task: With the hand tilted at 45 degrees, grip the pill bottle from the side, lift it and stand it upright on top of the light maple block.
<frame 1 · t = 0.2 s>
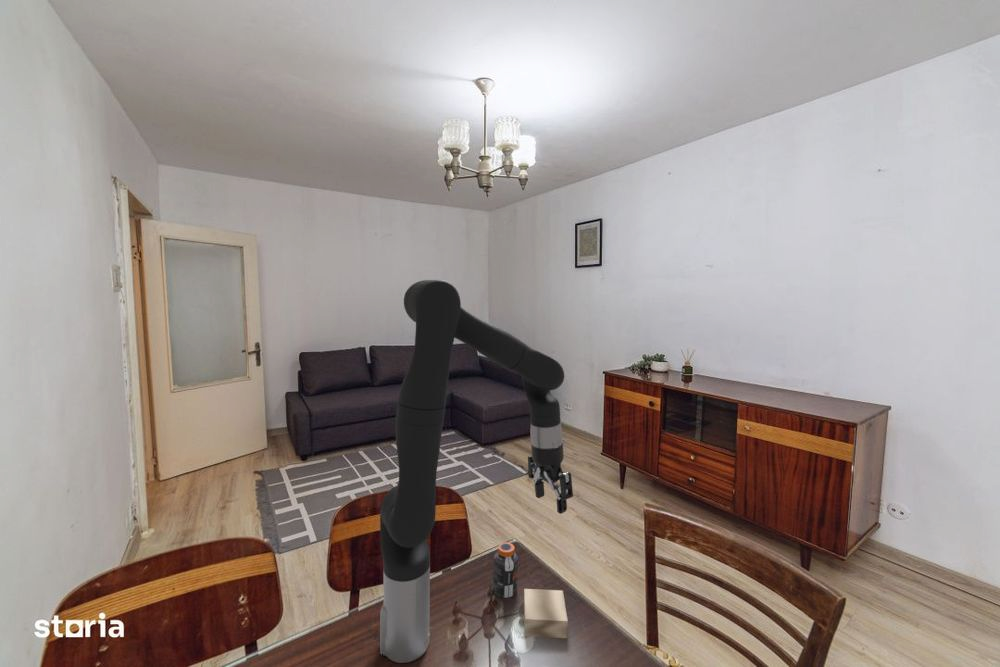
hand: (550, 504, 100), 22 cm above the table, tool pointing down, fingers open, 8 cm apart
maple block: (544, 620, 93), on the table
pill bottle: (504, 590, 102), on the table
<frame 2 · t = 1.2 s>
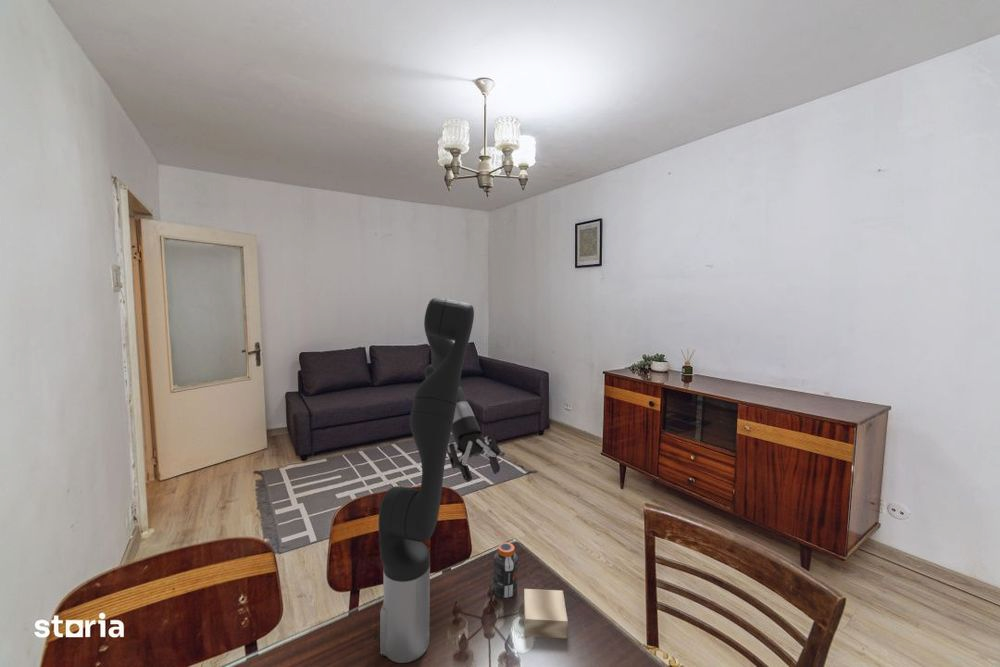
hand: (483, 476, 108), 25 cm above the table, tool tilted 45°, fingers open, 8 cm apart
nothing on the table moved.
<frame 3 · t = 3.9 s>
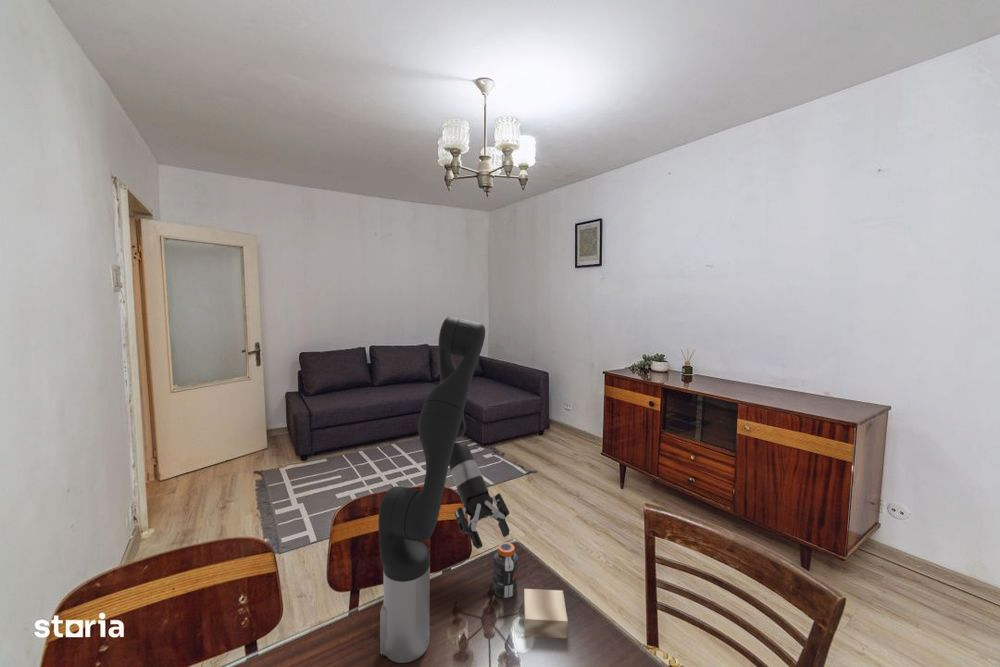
hand: (493, 541, 105), 10 cm above the table, tool tilted 45°, fingers open, 8 cm apart
nothing on the table moved.
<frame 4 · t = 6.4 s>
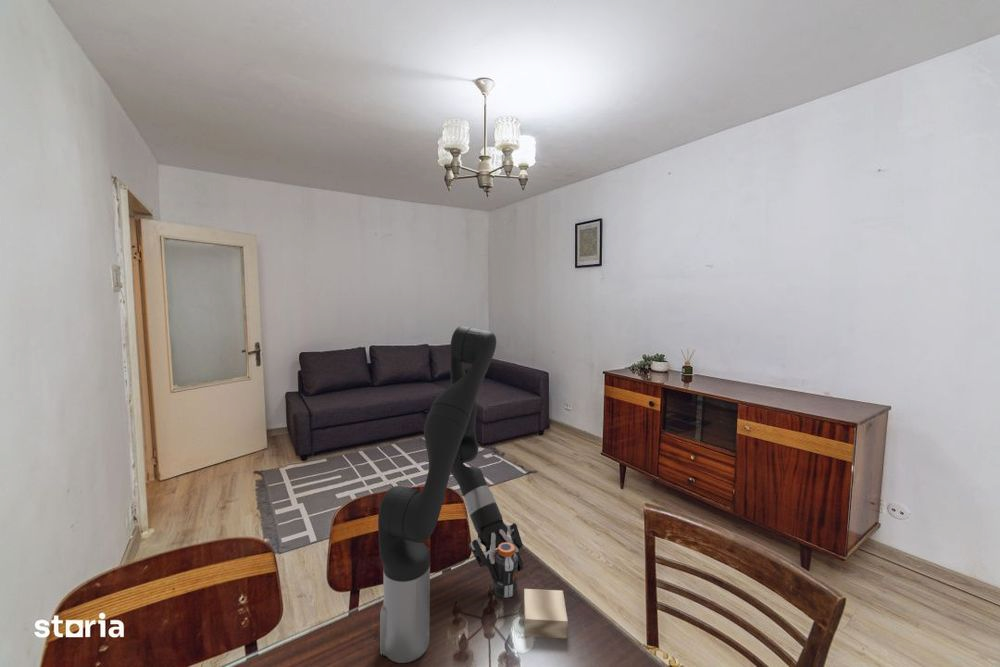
hand: (510, 575, 100), 5 cm above the table, tool tilted 45°, fingers closed on pill bottle, 6 cm apart
pill bottle: (504, 590, 102), on the table, touching gripper
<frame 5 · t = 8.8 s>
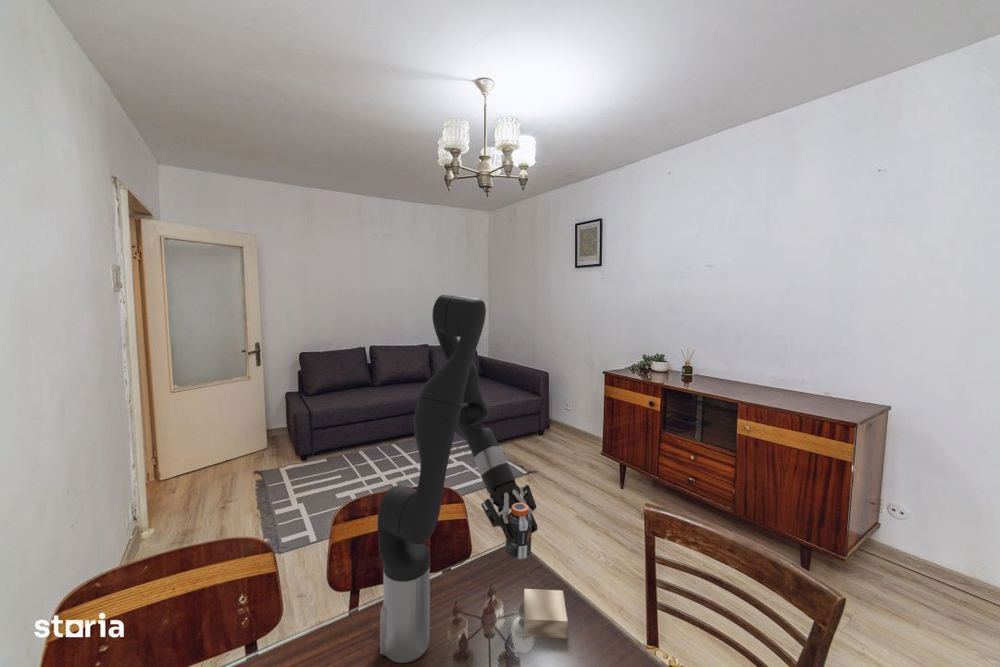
hand: (524, 536, 96), 17 cm above the table, tool tilted 45°, fingers closed on pill bottle, 6 cm apart
pill bottle: (518, 552, 98), point 12 cm above the table, touching gripper
when the fingers open (10 cm above the table, at t = 11.4 s): pill bottle drops 1 cm, resting on maple block.
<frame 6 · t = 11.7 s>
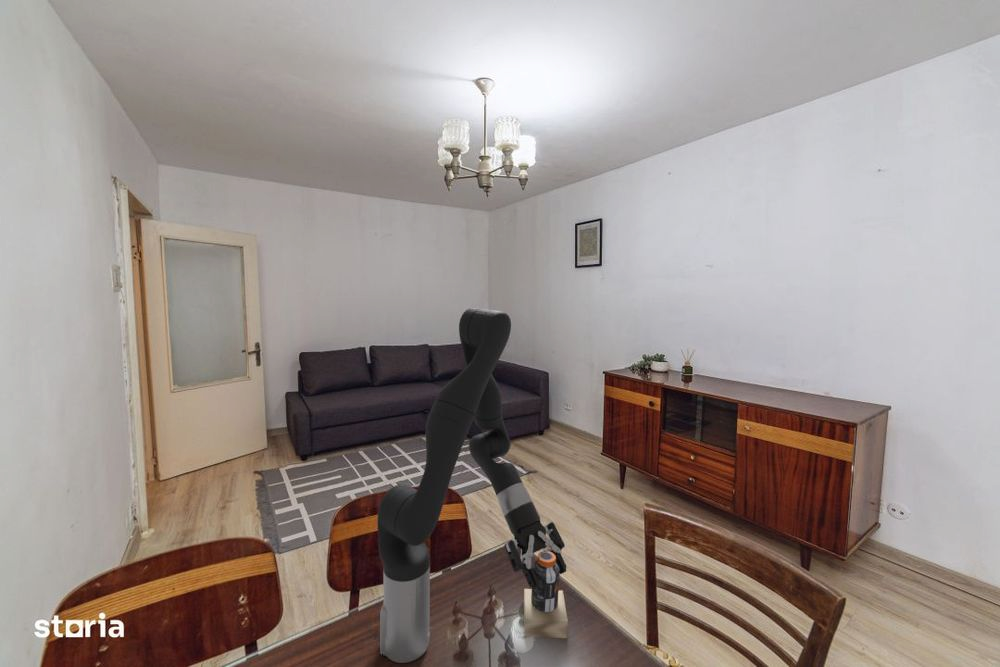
hand: (550, 580, 91), 11 cm above the table, tool tilted 45°, fingers open, 8 cm apart
pill bottle: (544, 604, 93), point 4 cm above the table, touching maple block
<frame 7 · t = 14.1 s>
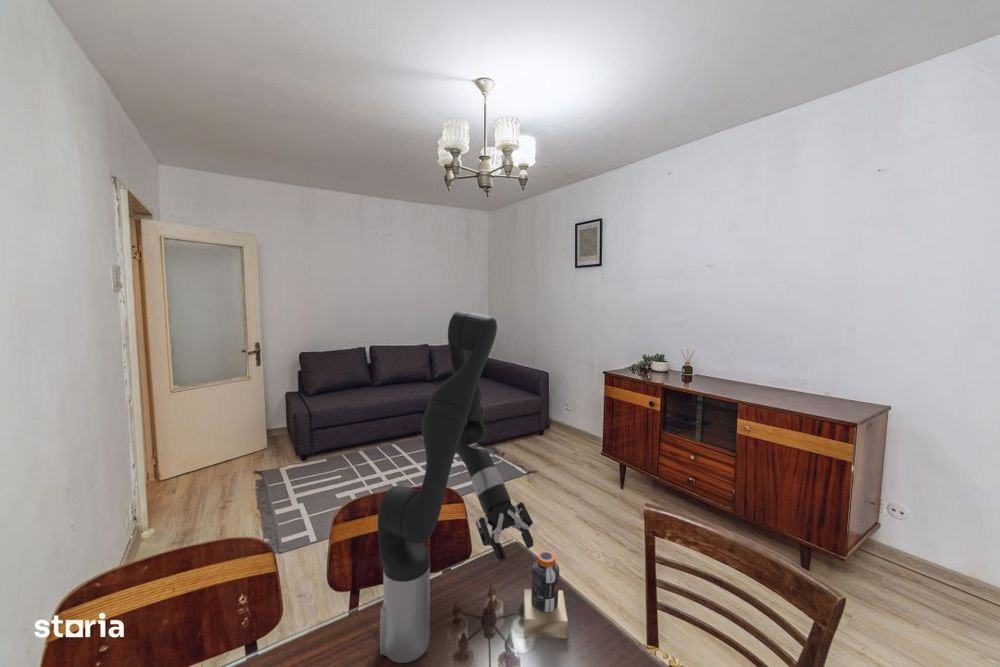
hand: (517, 553, 99), 11 cm above the table, tool tilted 45°, fingers open, 8 cm apart
nothing on the table moved.
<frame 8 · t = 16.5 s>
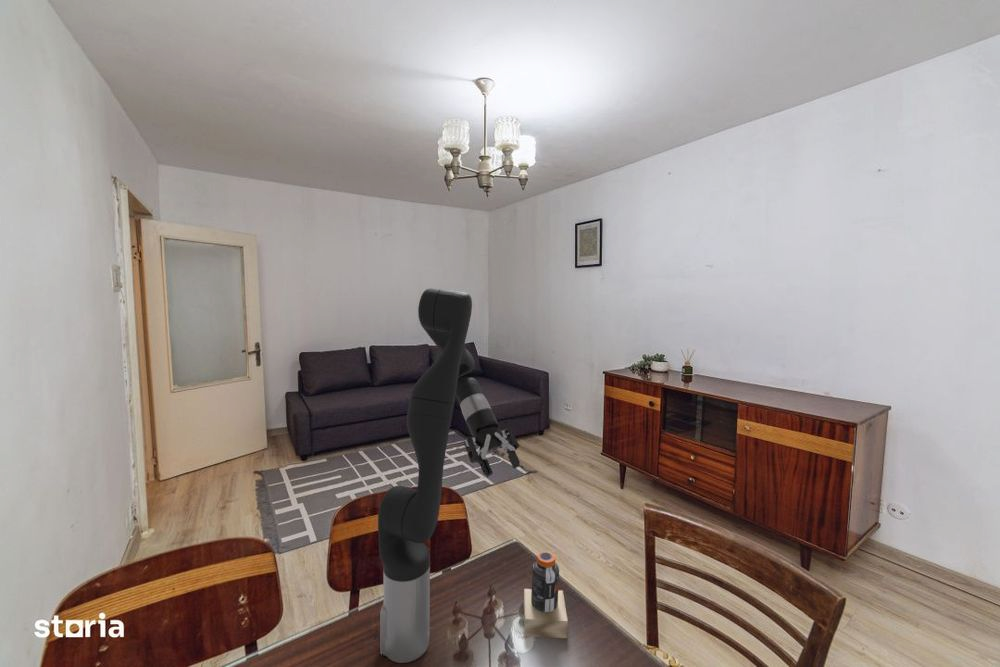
hand: (503, 471, 103), 29 cm above the table, tool tilted 45°, fingers open, 8 cm apart
nothing on the table moved.
at the end: pill bottle 0.2 cm off-centre on the maple block, point 3.8 cm above the maple block's base; pill bottle tilted 0°; the gripper is holding nothing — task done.
